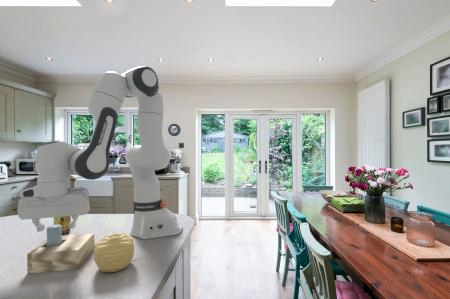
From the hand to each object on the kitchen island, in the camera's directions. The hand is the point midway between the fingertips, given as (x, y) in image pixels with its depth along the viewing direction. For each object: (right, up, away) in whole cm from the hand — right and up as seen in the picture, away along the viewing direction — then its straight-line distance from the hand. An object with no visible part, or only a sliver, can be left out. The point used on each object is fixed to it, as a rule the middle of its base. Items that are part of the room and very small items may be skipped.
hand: (56, 229), depth 78 cm
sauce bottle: (-16, -10, +25) cm, 31 cm away
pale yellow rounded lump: (+22, -11, -4) cm, 25 cm away
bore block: (+2, -10, 0) cm, 11 cm away
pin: (0, -9, 0) cm, 9 cm away
